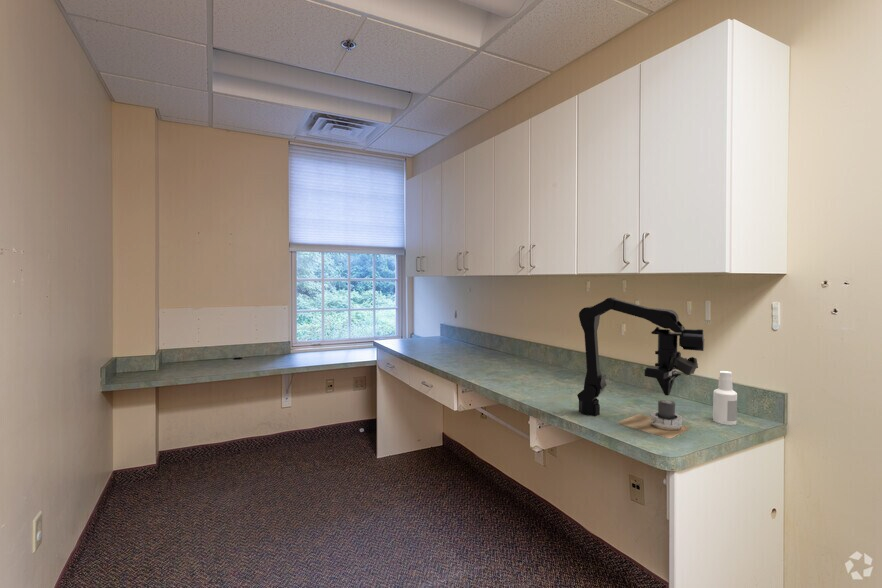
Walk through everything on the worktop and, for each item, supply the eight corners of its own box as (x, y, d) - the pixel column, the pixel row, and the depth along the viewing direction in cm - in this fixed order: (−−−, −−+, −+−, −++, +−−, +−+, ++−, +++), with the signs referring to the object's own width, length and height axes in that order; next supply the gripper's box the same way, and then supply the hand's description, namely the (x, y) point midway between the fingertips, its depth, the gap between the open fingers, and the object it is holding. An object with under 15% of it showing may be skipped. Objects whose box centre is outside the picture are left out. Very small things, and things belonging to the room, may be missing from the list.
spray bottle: (739, 428, 144) (740, 374, 143) (715, 426, 146) (716, 373, 145) (733, 422, 150) (734, 370, 149) (710, 419, 153) (711, 369, 152)
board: (615, 425, 148) (615, 422, 148) (639, 416, 157) (639, 413, 157) (669, 441, 133) (670, 438, 133) (692, 430, 142) (692, 427, 142)
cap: (654, 419, 144) (655, 401, 144) (662, 416, 147) (662, 398, 147) (670, 423, 140) (670, 405, 140) (677, 420, 143) (678, 402, 143)
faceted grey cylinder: (645, 425, 145) (645, 415, 145) (659, 419, 150) (659, 409, 150) (673, 433, 138) (673, 422, 137) (687, 426, 143) (687, 416, 143)
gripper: (679, 355, 131) (679, 406, 131) (706, 348, 142) (705, 395, 143) (643, 350, 140) (643, 398, 140) (671, 344, 151) (671, 388, 152)
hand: (666, 395), depth 143 cm, fingers closed
